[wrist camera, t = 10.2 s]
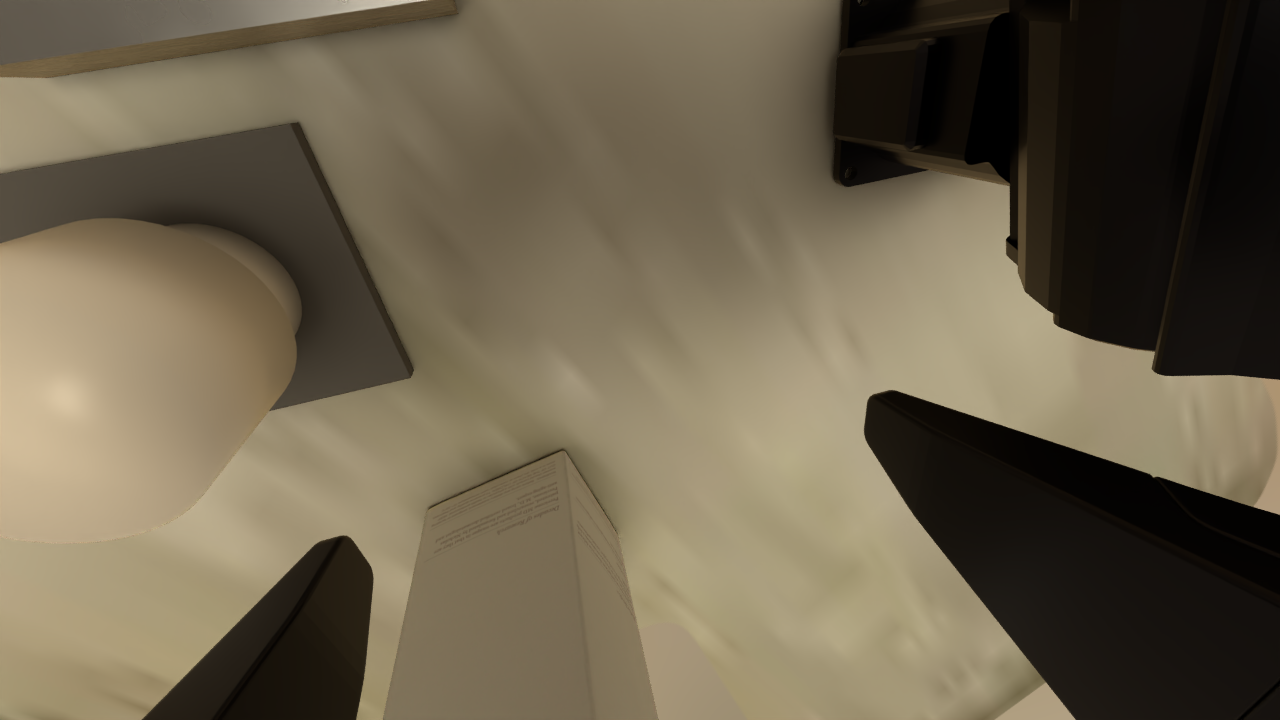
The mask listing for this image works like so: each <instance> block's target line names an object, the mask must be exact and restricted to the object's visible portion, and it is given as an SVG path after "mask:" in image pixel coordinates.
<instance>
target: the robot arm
mask: <svg viewBox="0 0 1280 720" xmlns="http://www.w3.org/2000/svg"><path fill="white" fill-rule="evenodd" d="M833 133H834V135H835V136H836V137H835V154H834V172H833V175H834V180H835V182H836V183H837V184H839V185H842V186H845V187H851V186H856V185H860V184H865V183H870V182H875V181H879V180H884V179H889V178H893V177H898V176H903V175H908V174H912V173H917V172H922V171H926V170H933V171H938V172H943V173H948V174H953V175H958V176H963V177H968V178H973V179H977V180H982V181H987V182H992V183H997V184H1002V185H1007V186H1010V236H1009V237H1007V239H1006V255H1007V256H1008V257H1009V258H1010V259H1011V260H1012V261H1013V262H1014V263H1016V264H1017V265H1018V274H1019V277H1020V279H1021V282H1022V285H1023V288H1024V290H1025V292H1026V293H1027V294H1028V295H1030V296H1031V297H1032V298H1033V299H1035V300H1036V301H1037V302H1038V303H1039V304H1041V305H1042V306H1043V307H1044V308H1046V309H1047V310H1048V311H1050V312H1052V313H1053V321H1054V324H1055V325H1057V326H1058V327H1060V328H1063V329H1065V330H1068V331H1071V332H1073V333H1076V334H1078V335H1081V336H1084V337H1086V338H1089V339H1092V340H1095V341H1099V342H1103V343H1107V344H1112V345H1116V346H1121V347H1125V348H1129V349H1134V350H1143V351H1152V352H1155V355H1154V360H1153V365H1152V370H1153V371H1154V372H1155V373H1157V374H1160V375H1164V376H1200V375H1236V376H1247V377H1257V378H1267V379H1279V380H1280V0H863V3H862V4H861V6H860V5H859V3H858V1H857V0H843V14H842V32H841V49H840V55H839V57H838V58H837V71H836V89H835V108H834V126H833ZM849 167H851V173H850V175H849V176H848V177H847V178H845V173H846V170H847V169H848V168H849ZM864 435H865V439H866V441H867V443H868V445H869V447H870V448H871V450H872V451H873V453H874V455H875V456H876V458H877V459H878V461H879V462H880V464H881V465H882V467H883V469H884V470H885V472H886V473H887V475H888V476H889V478H890V479H891V481H892V483H893V484H894V486H895V487H896V489H897V490H898V492H899V494H900V495H901V497H902V498H903V500H904V501H905V503H906V504H907V506H908V507H909V509H910V510H911V512H912V513H913V515H914V516H915V517H916V519H917V520H918V521H919V523H920V524H921V525H922V526H923V528H924V529H925V530H926V532H927V533H928V534H929V535H930V537H931V538H932V539H933V540H934V542H935V543H936V544H937V545H938V547H939V548H940V549H941V550H942V552H943V553H944V554H945V555H946V557H947V558H948V559H949V561H950V562H951V563H952V564H953V566H954V567H955V568H956V569H957V571H958V572H959V573H960V574H961V576H962V577H963V578H964V579H965V581H966V582H967V583H968V584H969V586H970V587H971V588H972V590H973V591H974V592H975V593H976V595H977V596H978V597H979V598H980V600H981V601H982V602H983V603H984V605H985V606H986V607H987V608H988V610H989V611H990V612H991V613H992V615H993V616H994V617H995V619H996V620H997V621H998V622H999V624H1000V625H1001V626H1002V627H1003V629H1004V630H1005V631H1006V632H1007V634H1008V635H1009V636H1010V637H1011V639H1012V640H1013V641H1014V642H1015V644H1016V645H1017V646H1018V648H1019V649H1020V650H1021V651H1022V653H1023V654H1024V655H1025V656H1026V658H1027V659H1028V660H1029V661H1030V663H1031V664H1032V665H1033V666H1034V668H1035V669H1036V670H1037V671H1038V673H1039V674H1040V675H1041V677H1042V678H1043V679H1044V680H1045V682H1046V683H1047V684H1048V685H1049V687H1050V688H1051V689H1052V690H1053V692H1054V693H1055V694H1056V695H1057V696H1058V698H1059V699H1060V700H1061V702H1062V703H1063V704H1064V705H1065V707H1066V708H1067V709H1068V710H1069V712H1070V713H1071V714H1072V716H1073V717H1074V718H1075V719H1076V720H1280V515H1278V514H1275V513H1271V512H1268V511H1265V510H1261V509H1258V508H1254V507H1251V506H1248V505H1245V504H1241V503H1238V502H1235V501H1232V500H1229V499H1226V498H1222V497H1219V496H1216V495H1213V494H1210V493H1207V492H1203V491H1200V490H1197V489H1194V488H1191V487H1188V486H1185V485H1182V484H1179V483H1176V482H1173V481H1170V480H1167V479H1164V478H1161V477H1154V478H1153V477H1152V476H1151V475H1150V474H1148V473H1145V472H1142V471H1139V470H1136V469H1133V468H1130V467H1127V466H1124V465H1121V464H1118V463H1115V462H1112V461H1109V460H1106V459H1102V458H1099V457H1096V456H1093V455H1090V454H1087V453H1084V452H1081V451H1078V450H1075V449H1072V448H1069V447H1066V446H1063V445H1060V444H1057V443H1054V442H1051V441H1048V440H1045V439H1042V438H1038V437H1035V436H1032V435H1029V434H1026V433H1023V432H1020V431H1017V430H1014V429H1011V428H1008V427H1005V426H1002V425H999V424H996V423H993V422H990V421H987V420H984V419H981V418H978V417H974V416H971V415H968V414H965V413H962V412H959V411H956V410H953V409H950V408H947V407H944V406H941V405H938V404H935V403H932V402H929V401H926V400H923V399H920V398H917V397H914V396H910V395H907V394H904V393H901V392H898V391H895V390H888V391H884V392H881V393H877V394H873V395H872V396H870V397H869V399H868V401H867V409H866V417H865V425H864ZM372 591H373V572H372V569H371V566H370V564H369V563H368V561H367V560H366V559H365V557H364V556H363V554H362V553H361V551H360V550H359V549H358V547H357V546H356V544H355V543H354V541H353V540H352V539H351V538H350V537H348V536H338V537H334V538H331V539H327V540H323V541H321V542H318V543H317V544H315V545H314V546H313V547H312V548H311V549H310V550H309V551H308V552H307V553H306V554H305V555H304V556H303V557H302V558H301V559H300V560H299V561H298V562H297V563H296V564H295V565H294V566H293V567H292V568H291V569H290V570H289V571H288V572H287V573H286V574H285V575H284V576H283V578H282V579H281V580H280V581H279V582H278V583H277V584H276V585H275V586H274V587H273V588H272V589H271V590H270V591H269V592H268V593H267V594H266V595H265V596H264V597H263V598H262V599H261V600H260V601H259V602H258V603H257V604H256V605H255V606H254V607H253V608H252V609H251V610H250V611H249V612H248V613H247V614H246V615H245V616H244V617H243V618H242V619H241V620H240V621H239V622H238V623H237V624H236V625H235V626H234V627H233V628H232V629H231V630H230V631H229V632H228V633H227V634H226V635H225V636H224V637H223V638H222V639H221V640H220V641H219V642H218V643H217V644H216V645H215V646H214V647H213V648H212V649H211V650H210V651H209V652H208V653H207V654H206V655H205V656H204V657H203V658H202V659H201V660H200V661H199V662H198V663H197V664H196V665H195V666H194V667H193V668H192V669H191V670H190V671H189V672H188V674H187V675H186V676H185V677H184V678H183V679H182V680H181V681H180V682H179V683H178V684H177V685H176V686H175V687H174V688H173V689H172V690H171V691H170V692H169V693H168V694H167V695H166V696H165V697H164V698H163V699H162V700H161V701H160V702H159V703H158V704H157V705H156V706H155V707H154V708H153V709H152V710H151V711H150V712H149V713H148V714H147V715H146V716H145V717H144V718H143V719H142V720H356V717H357V712H358V707H359V702H360V697H361V692H362V686H363V681H364V673H365V665H366V656H367V645H368V634H369V624H370V613H371V602H372Z"/></svg>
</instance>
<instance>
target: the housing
mask: <svg viewBox="0 0 1280 720" xmlns="http://www.w3.org/2000/svg"><path fill="white" fill-rule="evenodd" d="M453 14H458V11H457V8H456V4H455V1H454V0H0V77H26V78H49V77H56V76H62V75H69V74H75V73H82V72H88V71H94V70H101V69H107V68H114V67H120V66H126V65H133V64H139V63H146V62H152V61H158V60H165V59H171V58H178V57H184V56H191V55H197V54H203V53H210V52H216V51H223V50H229V49H235V48H242V47H248V46H255V45H261V44H267V43H274V42H280V41H287V40H293V39H299V38H306V37H312V36H319V35H325V34H332V33H338V32H344V31H351V30H357V29H364V28H370V27H376V26H383V25H389V24H396V23H402V22H408V21H415V20H421V19H428V18H434V17H441V16H447V15H453Z"/></svg>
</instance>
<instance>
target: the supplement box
mask: <svg viewBox="0 0 1280 720" xmlns="http://www.w3.org/2000/svg"><path fill="white" fill-rule="evenodd" d="M383 720H658V716H657V711H656V707H655V702H654V698H653V693H652V689H651V684H650V680H649V675H648V671H647V666H646V662H645V657H644V652H643V648H642V644H641V639H640V635H639V630H638V625H637V621H636V616H635V612H634V607H633V603H632V598H631V594H630V589H629V584H628V580H627V575H626V570H625V565H624V560H623V555H622V550H621V546H620V541H619V537H618V534H617V533H616V531H615V530H614V528H613V526H612V525H611V523H610V521H609V520H608V518H607V516H606V515H605V513H604V512H603V510H602V508H601V507H600V505H599V504H598V502H597V501H596V499H595V497H594V496H593V494H592V493H591V491H590V490H589V488H588V486H587V485H586V483H585V482H584V480H583V479H582V477H581V475H580V474H579V472H578V471H577V469H576V468H575V466H574V464H573V463H572V461H571V460H570V458H569V457H568V455H567V453H566V452H565V451H560V452H558V453H555V454H553V455H551V456H548V457H546V458H544V459H541V460H539V461H537V462H534V463H532V464H530V465H527V466H525V467H523V468H521V469H518V470H516V471H513V472H511V473H509V474H506V475H504V476H502V477H500V478H497V479H495V480H492V481H490V482H488V483H485V484H483V485H481V486H479V487H477V488H474V489H472V490H470V491H467V492H465V493H463V494H460V495H458V496H456V497H454V498H451V499H449V500H447V501H445V502H442V503H440V504H438V505H436V506H434V507H432V508H430V509H429V510H428V511H427V513H426V517H425V521H424V526H423V531H422V536H421V541H420V545H419V550H418V554H417V559H416V564H415V568H414V573H413V578H412V583H411V588H410V592H409V597H408V602H407V607H406V611H405V616H404V621H403V626H402V630H401V635H400V640H399V645H398V650H397V654H396V659H395V664H394V668H393V673H392V678H391V683H390V687H389V692H388V697H387V701H386V706H385V711H384V716H383Z"/></svg>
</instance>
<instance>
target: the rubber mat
mask: <svg viewBox="0 0 1280 720" xmlns="http://www.w3.org/2000/svg"><path fill="white" fill-rule="evenodd" d="M96 218H121V219H131V220H140V221H145V222H150V223H155V224H160V225H163V226H169V225H174V224H188V223H194V224H204V225H210V226H215V227H219V228H222V229H226V230H229V231H232V232H234V233H237V234H239V235H241V236H243V237H245V238H247V239H249V240H251V241H253V242H255V243H256V244H258V245H259V246H261V247H262V248H264V249H265V250H266V251H267V252H269V253H270V254H271V255H272V256H274V257H275V258H276V259H277V260H278V261H279V262H280V263H281V264H282V266H283V267H284V268H285V269H286V271H287V272H288V273H289V275H290V276H291V278H292V279H293V281H294V283H295V285H296V287H297V289H298V292H299V295H300V298H301V304H302V318H301V323H300V326H299V328H298V331H297V333H296V334H295V341H296V347H297V360H296V365H295V371H294V373H293V376H292V378H291V381H290V383H289V384H288V386H287V388H286V389H285V391H284V392H283V393H282V395H281V396H280V397H279V399H278V400H277V401H276V402H275V404H274V405H273V406H272V407H271V409H270V410H269V411H271V410H275V409H280V408H284V407H288V406H293V405H297V404H301V403H305V402H310V401H314V400H318V399H322V398H327V397H331V396H335V395H340V394H344V393H348V392H352V391H357V390H361V389H365V388H370V387H374V386H378V385H382V384H387V383H391V382H395V381H399V380H404V379H408V378H411V376H412V373H413V371H414V370H413V368H412V365H411V363H410V361H409V359H408V357H407V355H406V353H405V351H404V348H403V346H402V344H401V342H400V340H399V338H398V336H397V333H396V331H395V329H394V327H393V325H392V323H391V321H390V318H389V316H388V314H387V312H386V310H385V308H384V306H383V303H382V301H381V299H380V297H379V295H378V293H377V291H376V288H375V286H374V284H373V282H372V280H371V278H370V276H369V274H368V271H367V269H366V267H365V265H364V263H363V261H362V259H361V256H360V254H359V252H358V250H357V248H356V246H355V244H354V241H353V239H352V237H351V235H350V233H349V231H348V229H347V226H346V224H345V222H344V220H343V218H342V216H341V214H340V211H339V209H338V207H337V205H336V203H335V201H334V199H333V196H332V194H331V192H330V190H329V188H328V186H327V184H326V182H325V179H324V177H323V175H322V173H321V171H320V169H319V167H318V164H317V162H316V160H315V158H314V156H313V154H312V152H311V149H310V147H309V145H308V143H307V141H306V139H305V137H304V134H303V132H302V130H301V128H300V126H299V124H298V123H292V124H286V125H280V126H274V127H268V128H263V129H257V130H251V131H245V132H240V133H234V134H228V135H222V136H217V137H211V138H205V139H199V140H194V141H188V142H182V143H176V144H171V145H165V146H159V147H153V148H148V149H142V150H136V151H130V152H125V153H119V154H113V155H107V156H102V157H96V158H90V159H84V160H79V161H73V162H67V163H61V164H55V165H50V166H44V167H38V168H32V169H27V170H21V171H15V172H9V173H4V174H0V243H4V242H7V241H10V240H14V239H17V238H20V237H24V236H27V235H30V234H34V233H37V232H40V231H43V230H47V229H50V228H53V227H57V226H60V225H64V224H68V223H72V222H75V221H80V220H88V219H96Z"/></svg>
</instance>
